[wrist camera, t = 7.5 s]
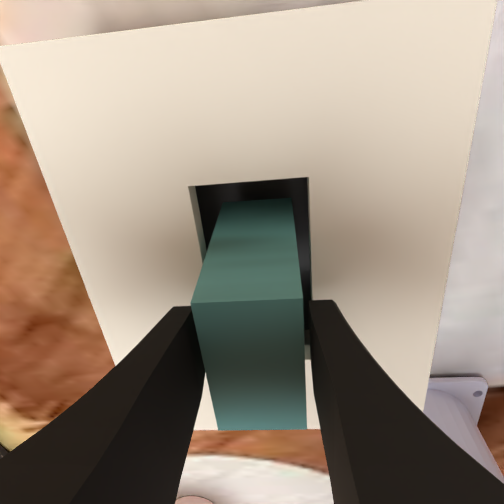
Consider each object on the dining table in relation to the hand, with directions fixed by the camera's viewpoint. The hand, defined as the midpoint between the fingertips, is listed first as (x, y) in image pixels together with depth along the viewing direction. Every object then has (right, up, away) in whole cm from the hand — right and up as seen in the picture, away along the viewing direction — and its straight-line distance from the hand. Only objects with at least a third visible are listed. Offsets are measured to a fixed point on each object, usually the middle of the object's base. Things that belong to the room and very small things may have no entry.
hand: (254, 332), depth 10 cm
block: (0, +2, +4) cm, 5 cm away
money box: (+1, +4, +7) cm, 8 cm away
